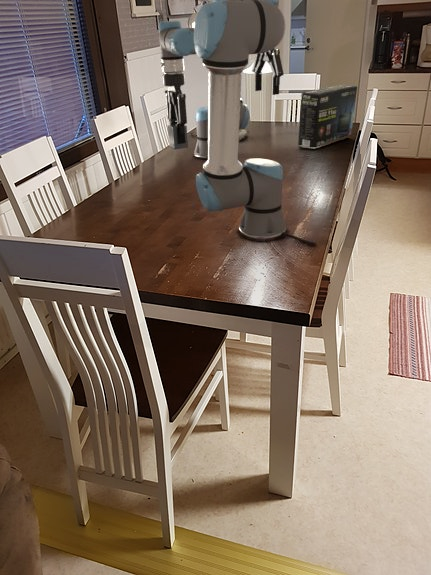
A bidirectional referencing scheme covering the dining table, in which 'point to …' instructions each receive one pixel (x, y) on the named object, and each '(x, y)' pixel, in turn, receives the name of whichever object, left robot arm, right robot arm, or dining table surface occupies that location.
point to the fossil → (243, 133)
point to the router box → (326, 115)
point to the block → (173, 137)
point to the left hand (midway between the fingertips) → (266, 92)
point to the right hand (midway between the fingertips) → (178, 141)
